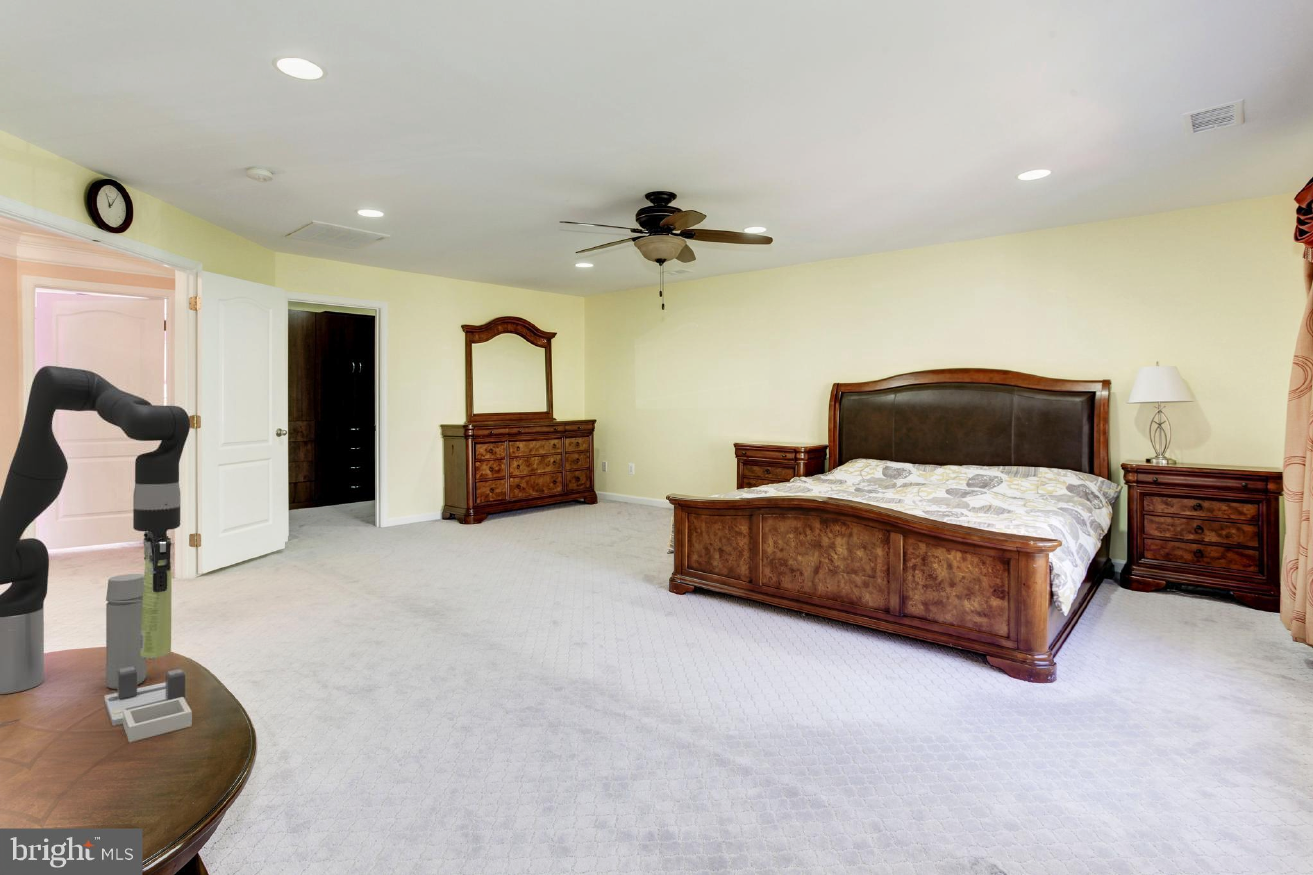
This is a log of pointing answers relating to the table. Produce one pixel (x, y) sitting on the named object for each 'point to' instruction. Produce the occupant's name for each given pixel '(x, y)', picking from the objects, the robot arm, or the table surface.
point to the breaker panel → (134, 701)
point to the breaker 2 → (175, 684)
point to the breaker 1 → (126, 682)
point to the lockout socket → (156, 719)
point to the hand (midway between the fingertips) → (156, 587)
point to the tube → (155, 616)
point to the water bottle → (124, 627)
